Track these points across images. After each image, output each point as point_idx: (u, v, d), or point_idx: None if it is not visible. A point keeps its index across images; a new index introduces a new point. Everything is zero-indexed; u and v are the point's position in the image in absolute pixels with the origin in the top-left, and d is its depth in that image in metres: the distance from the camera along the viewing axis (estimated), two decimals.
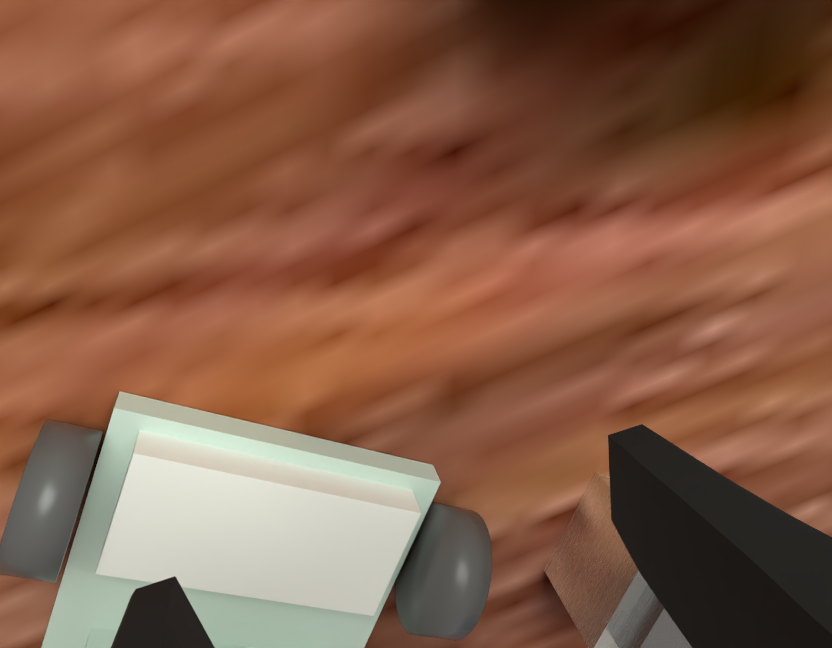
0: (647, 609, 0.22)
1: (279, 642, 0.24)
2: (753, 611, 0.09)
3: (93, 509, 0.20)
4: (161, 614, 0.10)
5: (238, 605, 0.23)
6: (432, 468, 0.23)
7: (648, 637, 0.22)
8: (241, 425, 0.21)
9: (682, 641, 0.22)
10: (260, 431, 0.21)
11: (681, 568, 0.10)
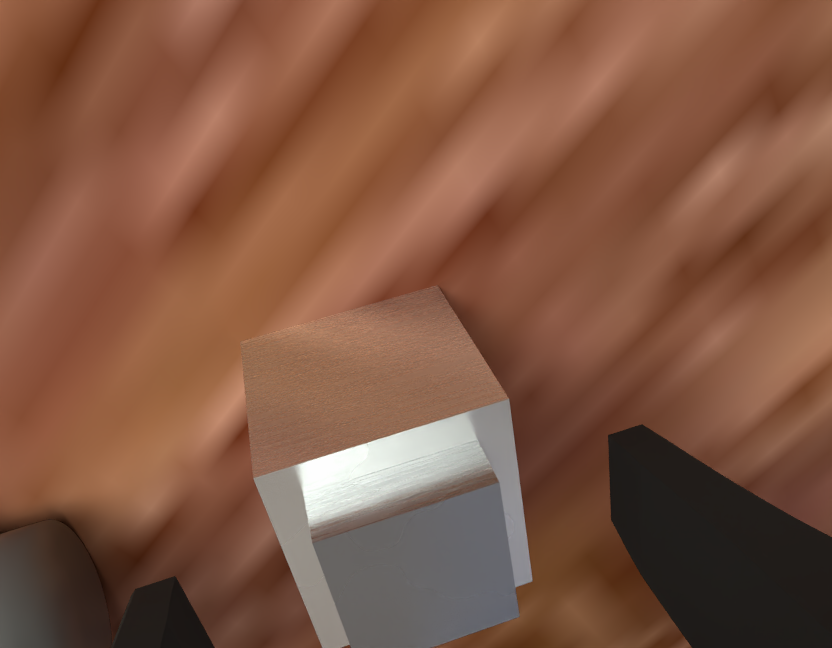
0: None
1: None
2: (753, 611, 0.09)
3: None
4: (161, 614, 0.10)
5: None
6: None
7: (351, 628, 0.11)
8: None
9: (429, 599, 0.11)
10: None
11: (681, 568, 0.10)
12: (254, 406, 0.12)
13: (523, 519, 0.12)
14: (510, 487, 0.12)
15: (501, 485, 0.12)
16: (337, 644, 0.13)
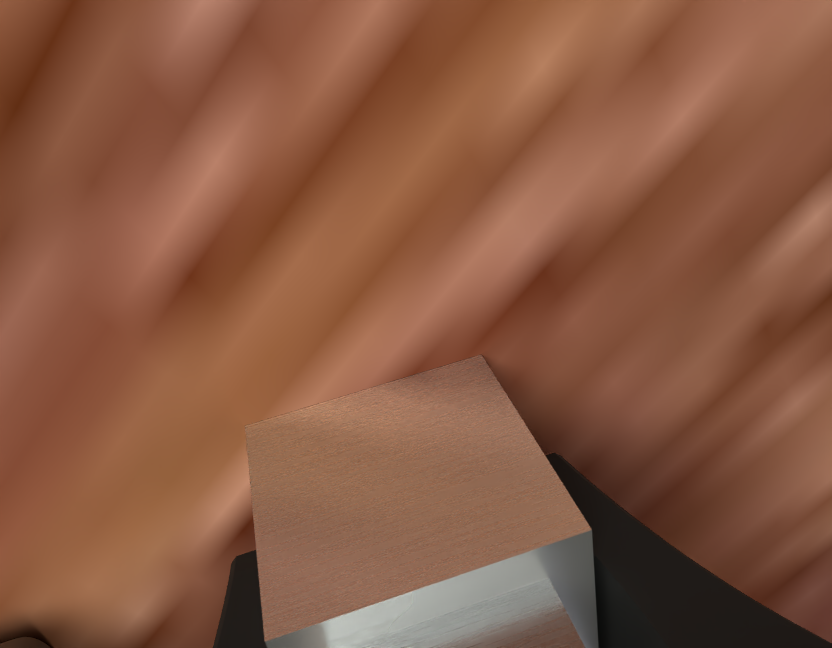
0: None
1: None
2: None
3: None
4: None
5: None
6: None
7: None
8: None
9: None
10: None
11: None
12: (263, 527, 0.10)
13: None
14: (585, 627, 0.10)
15: (574, 625, 0.09)
16: None
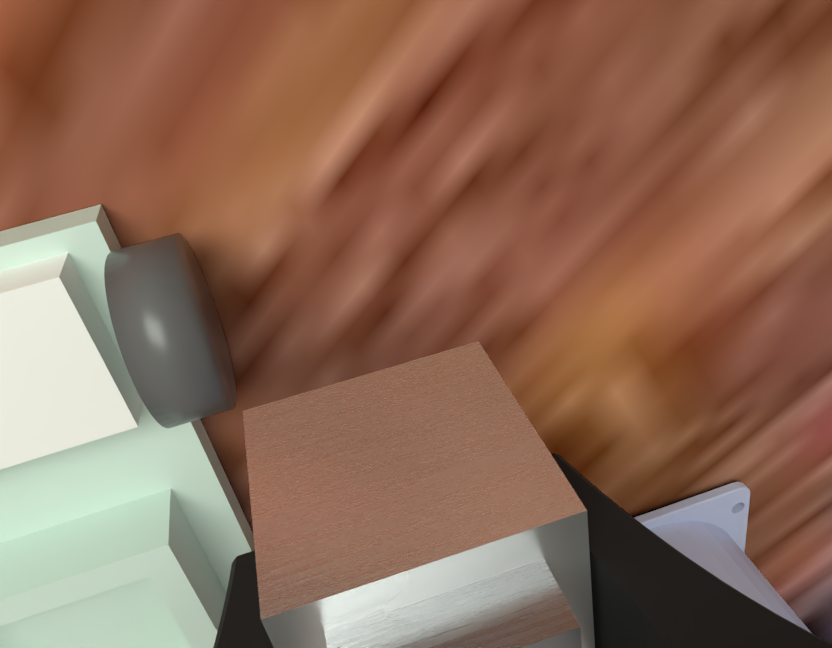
0: None
1: (99, 500, 0.19)
2: None
3: None
4: None
5: (5, 488, 0.18)
6: (95, 209, 0.16)
7: None
8: None
9: None
10: None
11: None
12: (259, 509, 0.10)
13: (593, 643, 0.10)
14: (580, 609, 0.10)
15: (569, 607, 0.10)
16: None
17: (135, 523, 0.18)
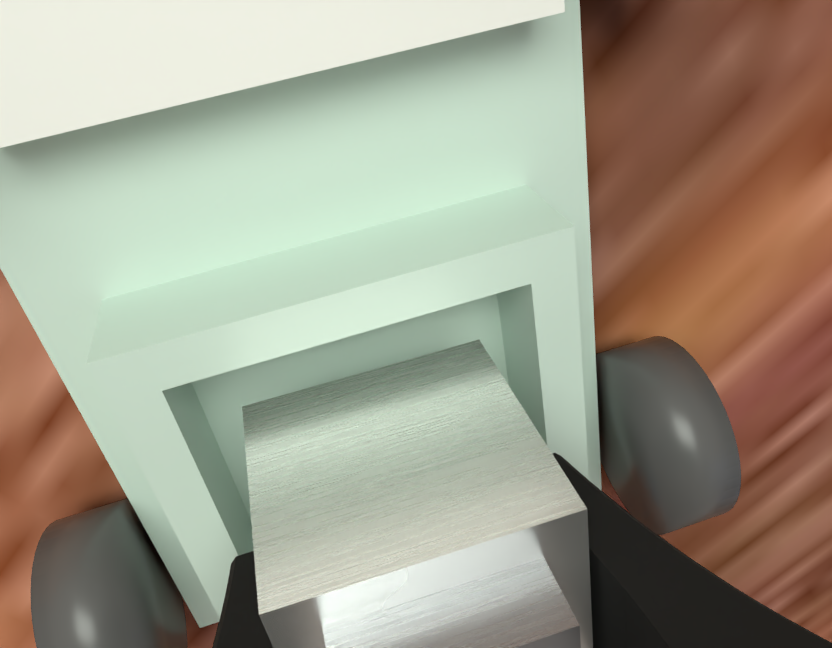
0: None
1: (431, 191, 0.13)
2: None
3: None
4: None
5: (315, 148, 0.12)
6: None
7: None
8: None
9: None
10: None
11: None
12: (259, 504, 0.10)
13: (591, 643, 0.10)
14: (579, 608, 0.10)
15: None
16: None
17: (497, 215, 0.12)
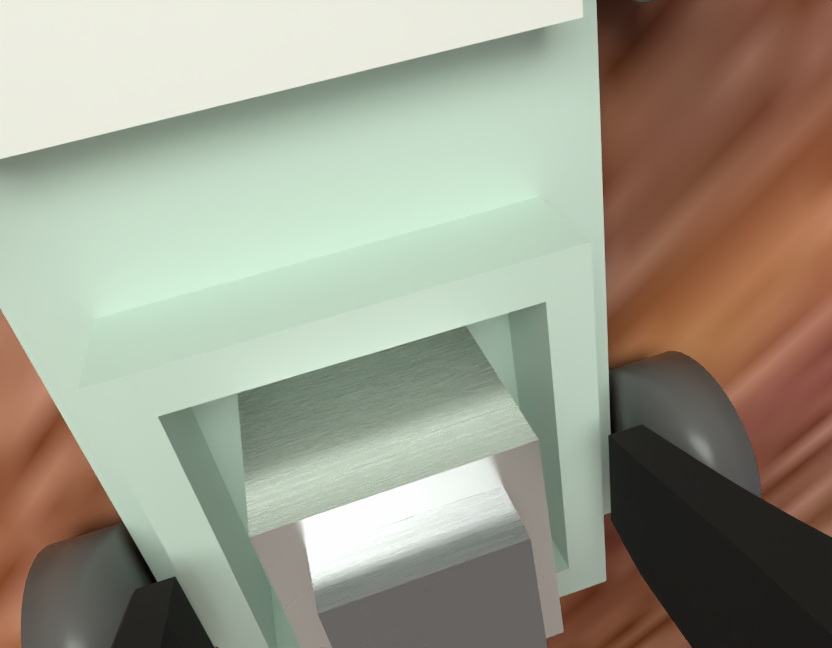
0: None
1: (440, 204, 0.12)
2: (753, 611, 0.09)
3: None
4: (161, 614, 0.10)
5: (319, 160, 0.11)
6: None
7: None
8: None
9: None
10: None
11: (681, 568, 0.10)
12: (250, 449, 0.11)
13: (554, 568, 0.11)
14: (539, 534, 0.11)
15: (529, 533, 0.11)
16: None
17: (510, 230, 0.12)
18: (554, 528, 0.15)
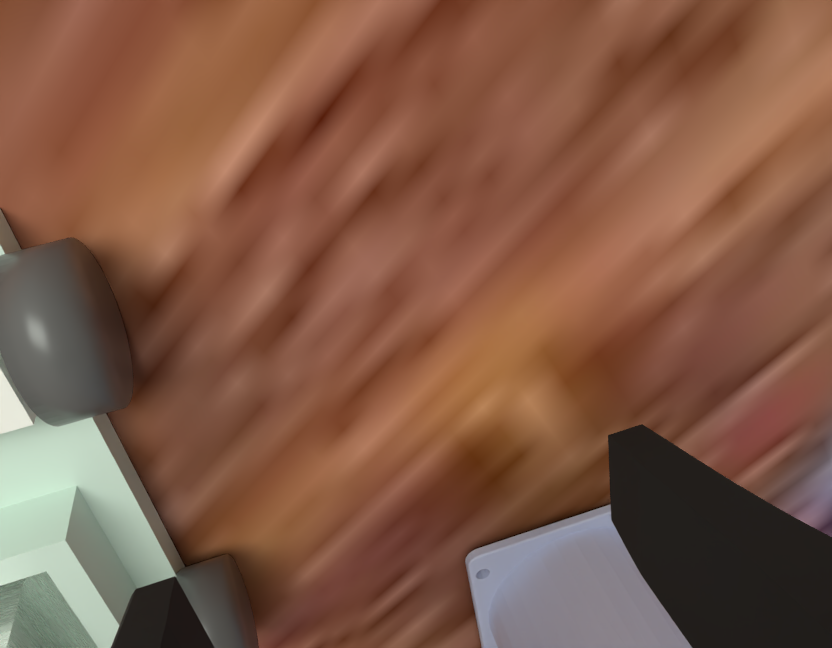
0: None
1: (4, 496, 0.19)
2: (753, 611, 0.09)
3: None
4: (161, 614, 0.10)
5: None
6: None
7: None
8: None
9: None
10: None
11: (681, 568, 0.10)
12: None
13: None
14: None
15: None
16: None
17: (36, 520, 0.18)
18: None
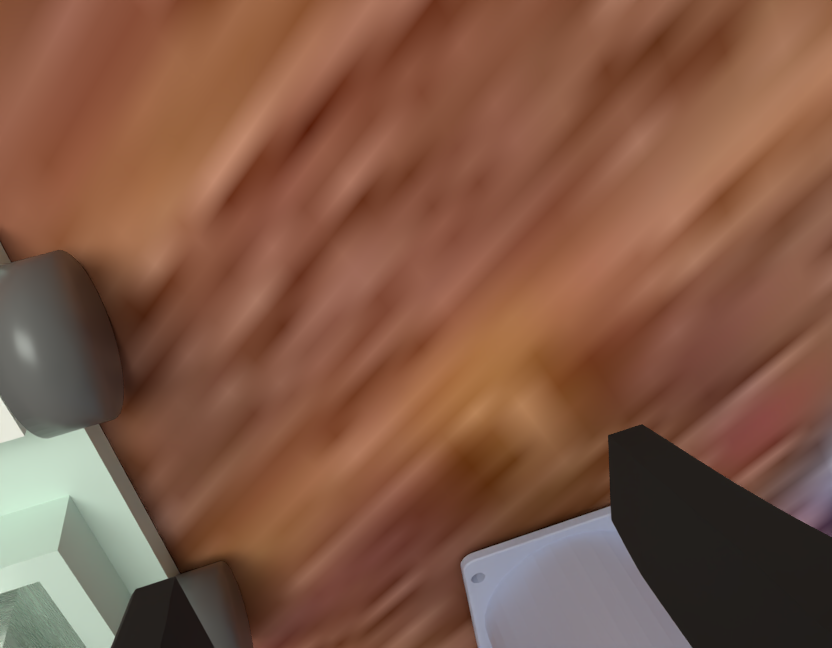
0: None
1: None
2: (753, 611, 0.09)
3: None
4: (161, 614, 0.10)
5: None
6: None
7: None
8: None
9: None
10: None
11: (681, 568, 0.10)
12: None
13: None
14: None
15: None
16: None
17: (30, 530, 0.19)
18: None
